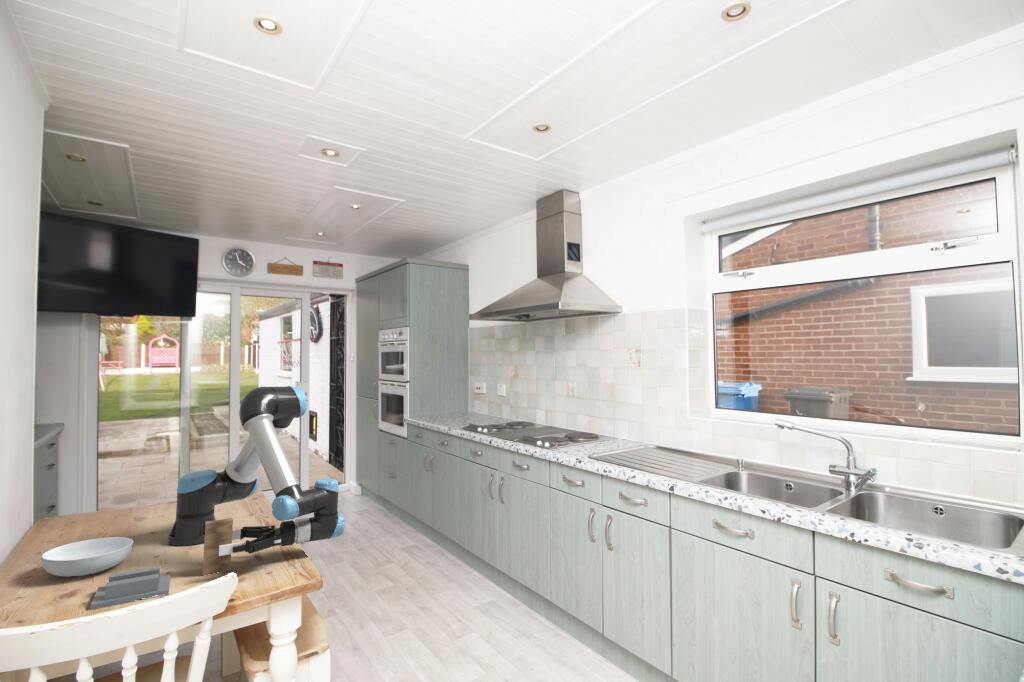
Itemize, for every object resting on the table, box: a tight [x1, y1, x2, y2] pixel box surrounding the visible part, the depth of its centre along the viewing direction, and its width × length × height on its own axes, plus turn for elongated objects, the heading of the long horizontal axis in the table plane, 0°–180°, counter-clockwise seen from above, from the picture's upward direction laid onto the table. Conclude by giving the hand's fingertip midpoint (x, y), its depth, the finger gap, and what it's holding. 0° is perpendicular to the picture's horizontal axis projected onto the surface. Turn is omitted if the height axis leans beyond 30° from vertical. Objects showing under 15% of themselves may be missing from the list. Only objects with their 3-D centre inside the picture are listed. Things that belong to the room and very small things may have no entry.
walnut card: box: [202, 517, 234, 576], centre depth 146 cm, size 7×2×15 cm, turn 124°
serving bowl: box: [41, 536, 134, 577], centre depth 145 cm, size 21×21×7 cm
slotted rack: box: [89, 565, 171, 610], centre depth 131 cm, size 16×12×5 cm
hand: (217, 543), depth 145 cm, fingers open, 13 cm apart
